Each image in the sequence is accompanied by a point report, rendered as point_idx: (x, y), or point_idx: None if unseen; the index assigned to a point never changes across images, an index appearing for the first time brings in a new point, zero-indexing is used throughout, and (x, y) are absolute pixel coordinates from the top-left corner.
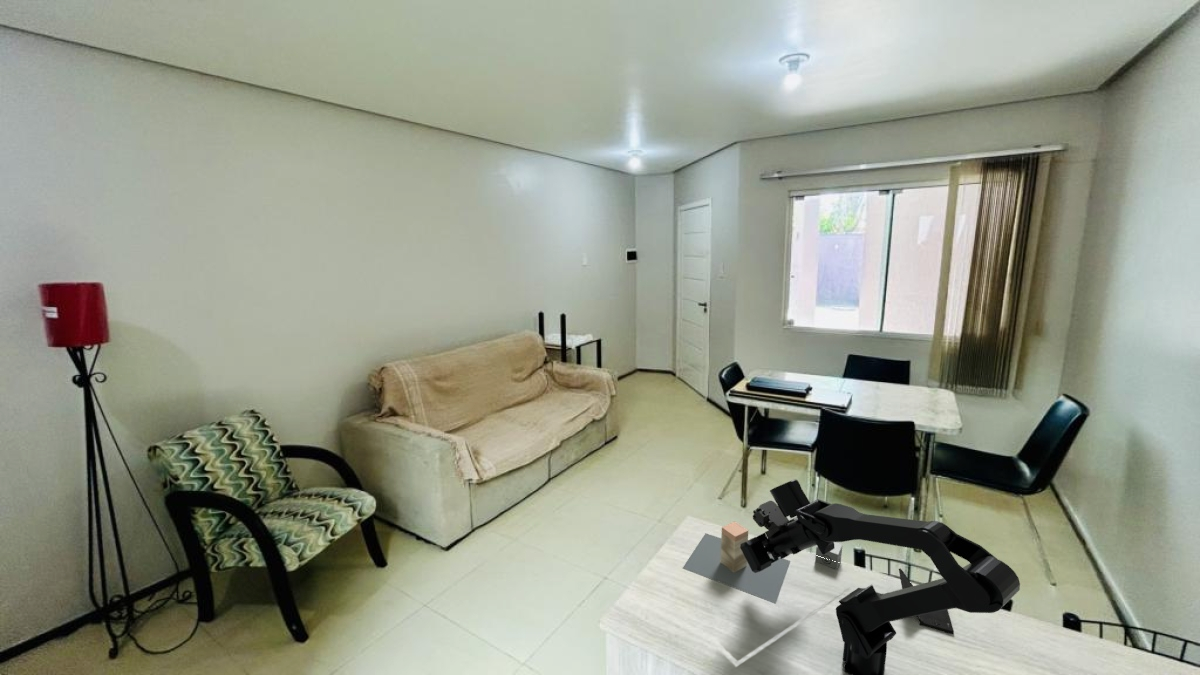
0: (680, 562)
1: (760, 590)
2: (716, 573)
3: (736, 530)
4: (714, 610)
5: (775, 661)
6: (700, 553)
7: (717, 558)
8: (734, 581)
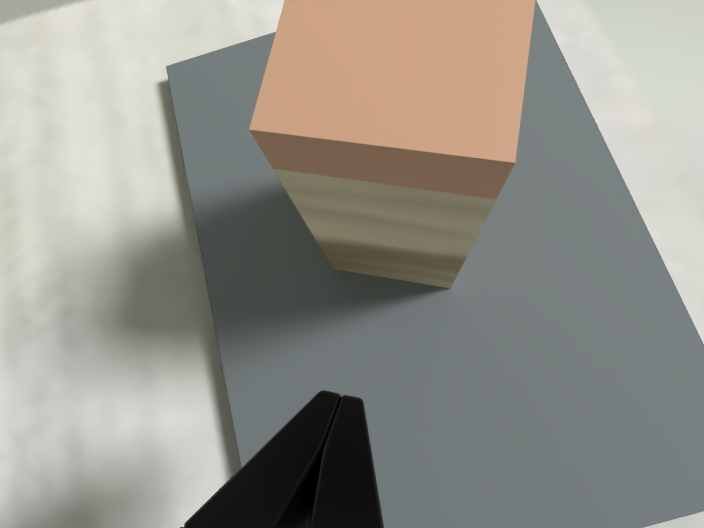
0: (222, 34)
1: None
2: (251, 205)
3: (381, 63)
4: (31, 354)
5: None
6: None
7: None
8: (265, 315)
